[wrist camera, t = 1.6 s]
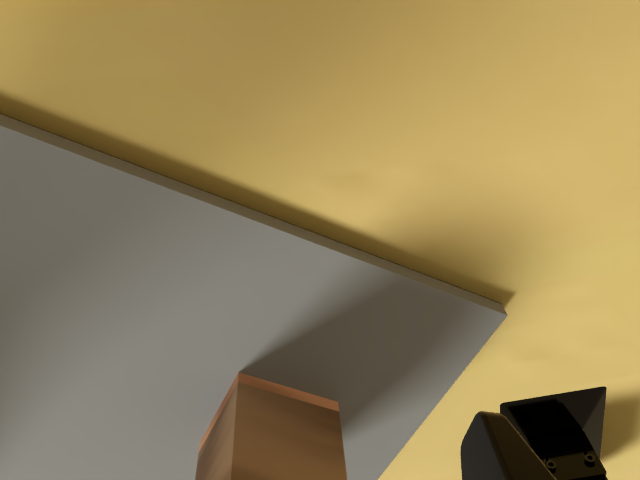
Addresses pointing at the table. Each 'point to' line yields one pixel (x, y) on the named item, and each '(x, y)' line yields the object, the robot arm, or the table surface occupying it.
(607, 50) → the table surface
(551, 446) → the black mounting bracket
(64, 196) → the slate mat
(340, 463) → the walnut post
